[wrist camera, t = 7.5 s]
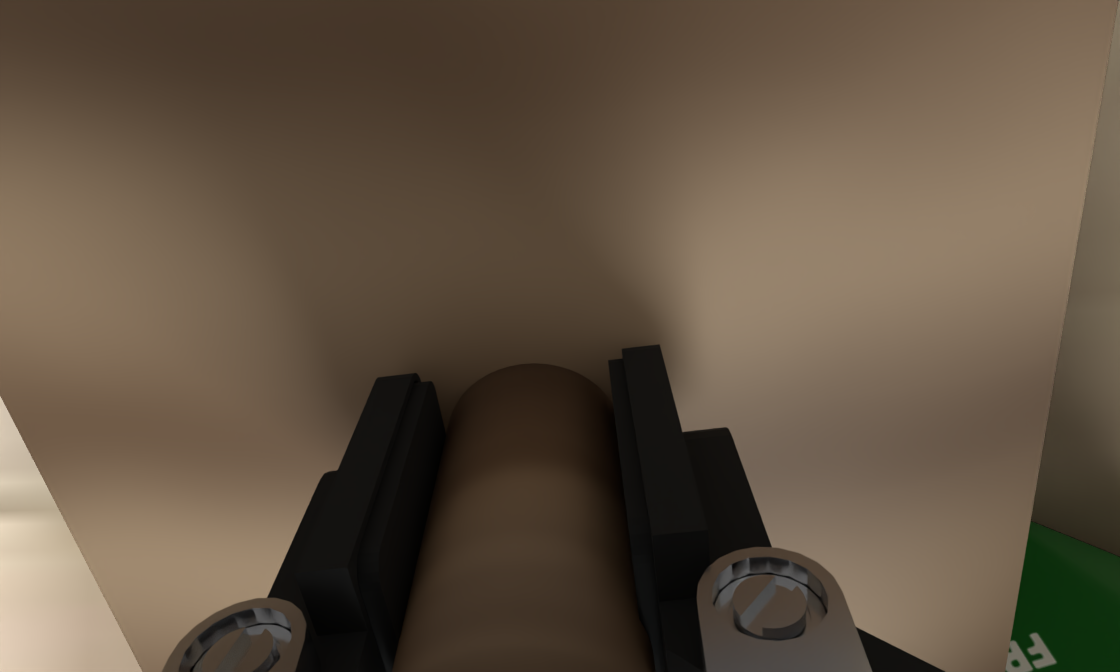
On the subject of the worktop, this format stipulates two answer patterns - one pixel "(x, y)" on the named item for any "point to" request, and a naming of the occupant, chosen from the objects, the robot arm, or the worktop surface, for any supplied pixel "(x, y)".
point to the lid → (544, 290)
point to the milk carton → (1066, 607)
